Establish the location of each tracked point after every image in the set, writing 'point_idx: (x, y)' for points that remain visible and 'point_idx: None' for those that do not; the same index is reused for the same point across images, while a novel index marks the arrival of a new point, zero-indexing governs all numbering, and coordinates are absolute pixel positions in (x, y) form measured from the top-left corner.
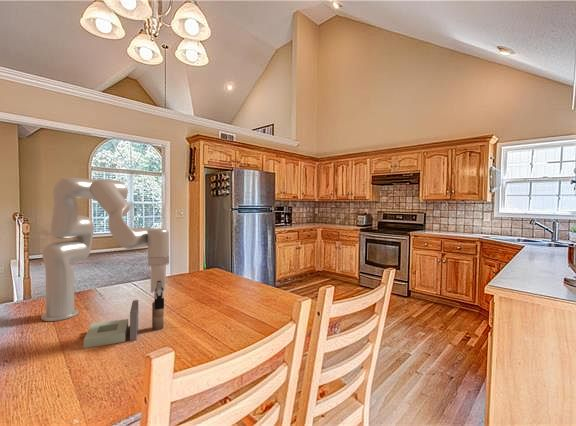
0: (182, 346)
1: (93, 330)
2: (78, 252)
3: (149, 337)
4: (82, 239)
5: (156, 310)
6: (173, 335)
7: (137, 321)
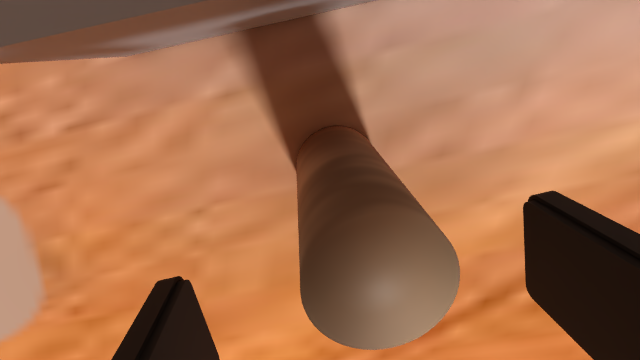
0: (46, 355)
1: None
2: None
3: (182, 141)
4: None
5: (299, 238)
6: (204, 284)
7: (281, 13)
